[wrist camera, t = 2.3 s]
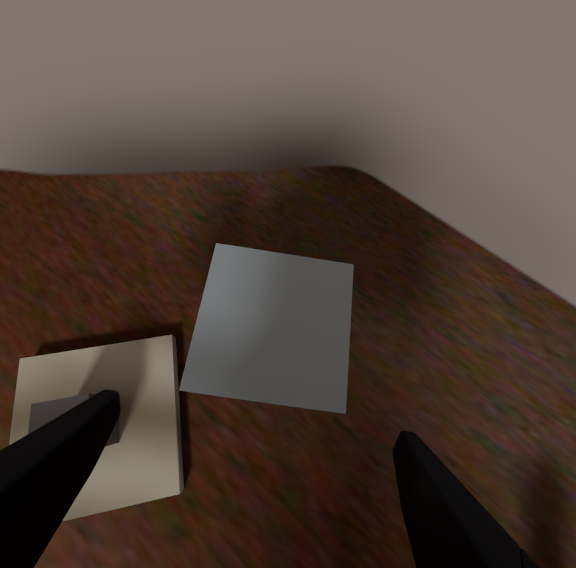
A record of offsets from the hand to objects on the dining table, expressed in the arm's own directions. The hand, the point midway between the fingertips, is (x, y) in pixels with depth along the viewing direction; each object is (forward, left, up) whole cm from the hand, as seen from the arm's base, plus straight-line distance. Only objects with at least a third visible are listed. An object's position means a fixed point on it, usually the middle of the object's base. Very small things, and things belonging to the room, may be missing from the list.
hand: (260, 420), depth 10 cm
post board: (-7, +6, -11) cm, 14 cm away
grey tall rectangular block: (+3, +2, -11) cm, 11 cm away
